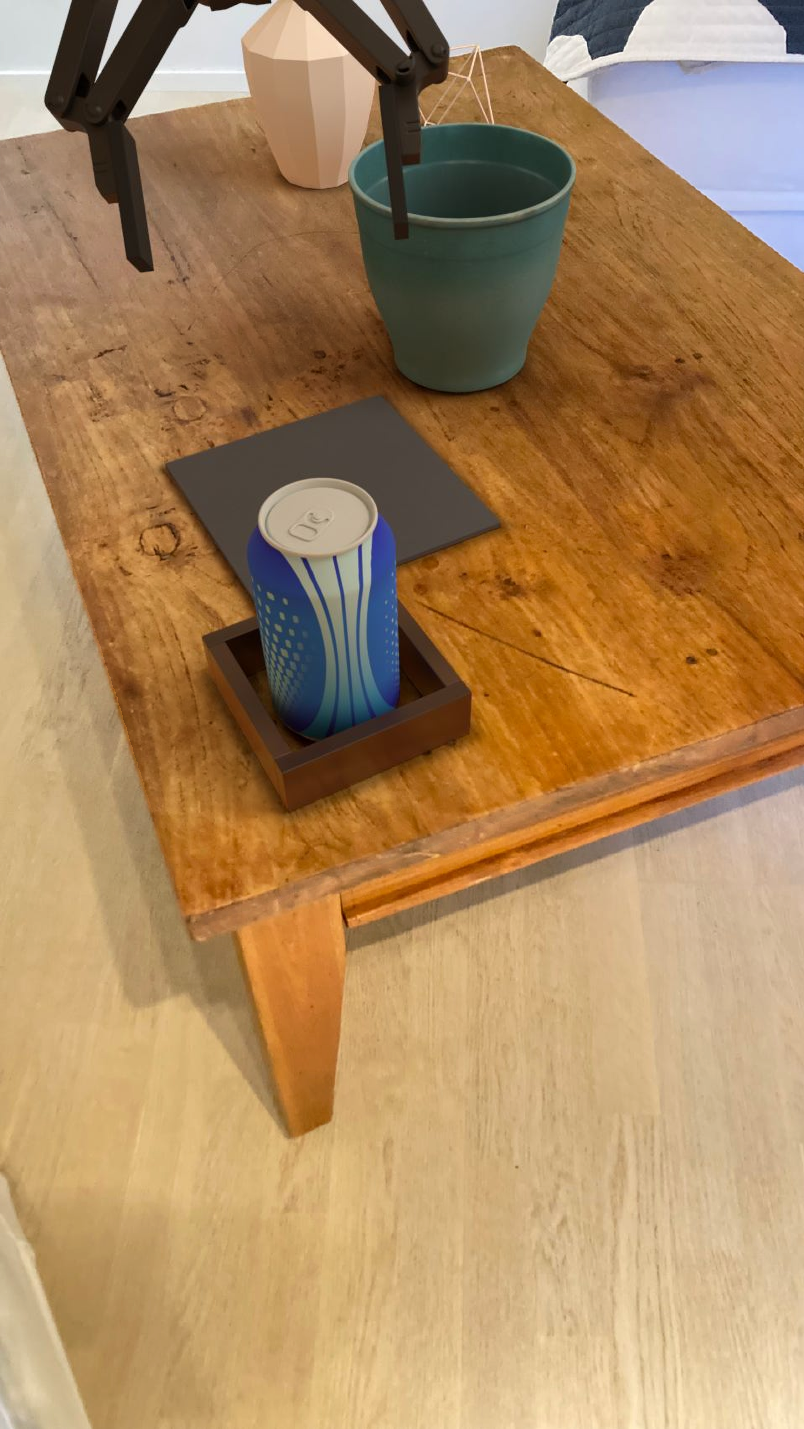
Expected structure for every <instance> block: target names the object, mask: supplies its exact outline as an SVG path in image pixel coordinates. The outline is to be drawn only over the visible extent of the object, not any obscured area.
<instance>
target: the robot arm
mask: <svg viewBox="0 0 804 1429" xmlns="http://www.w3.org/2000/svg"><path fill="white" fill-rule="evenodd" d="M119 1H120V0H71V2H70V5H69V8H68V12H67V17H66V19H65V22H64V26H63V30H62V33H61V37H60V40H59V44H58V47H57V51H56V55H55V58H54V61H53V65H52V67H51V72H50V76H49V79H48V82H47V86H46V89H45V93H44V96H43V103H44V106H45V108H46V109H47V111H48V112H49V113H50V114H51V115H52V117H53V118H54V119H55V120H56V122H58V123H59V124H58V125H60V127H62V128H63V129H64V130H65V131H66V132H68V133H76V132H80V133H83V134H86V135H87V138H88V145H89V152H90V158H91V164H92V171H93V178H94V184H95V187H96V189H97V191H98V193H99V195H100V196H101V197H102V198H103V199H104V201H105V202H106V203H107V204H109V205H113V204H118V211H119V218H120V226H121V232H122V238H123V245H124V252H125V259H126V261H128V262H129V263H130V265H132V266H133V267H134V268H135V269H136V270H137V271H138V273H140V274H143V273H150V272H155V267H154V260H153V252H152V246H151V240H150V232H149V225H148V219H147V212H146V211H147V210H146V204H145V198H144V190H143V182H142V178H141V177H142V176H141V170H140V163H139V157H138V151H137V150H138V149H137V143H136V142H137V141H136V140H135V138H134V137H133V135H132V133H131V132H130V130H129V129H128V128H127V126H126V125H125V124H126V122H127V120H128V118H129V117H130V115H131V113H132V112H133V111H134V108H135V106H136V105H137V103H138V101H139V99H140V98H141V96H142V94H143V93H144V91H145V89H146V87H147V85H148V84H149V82H150V80H151V79H152V77H153V75H154V74H155V72H156V70H157V68H158V67H159V64H160V63H161V61H162V59H163V58H164V56H165V54H166V52H167V51H168V49H169V48H170V45H172V42H173V41H174V39H175V38H176V35H177V34H178V32H179V30H181V29H183V28H184V27H186V26H187V25H188V23H189V21H190V19H191V17H193V14H194V12H195V11H196V10H197V8H198V5H202V6H204V7H208V8H209V9H210V11H211V12H218V11H219V12H220V11H226V10H228V9H231V8H233V7H235V6H237V5H240V4H244V5H245V4H246V5H251V6H262V5H272V0H141V1H140V2H139V4H138V6H137V8H136V9H135V11H134V13H133V15H132V16H131V18H130V20H129V22H128V23H127V26H126V27H125V29H124V31H123V33H122V34H121V36H120V37H119V39H118V41H117V43H116V44H115V46H114V48H113V50H112V52H111V53H110V55H109V57H108V59H107V60H106V62H105V64H104V65H103V67H102V69H101V71H100V73H99V69H100V66H101V62H102V60H103V56H104V52H105V49H106V46H107V41H108V39H109V36H110V31H111V28H112V24H113V21H114V18H115V14H116V11H117V9H118V8H117V7H118V4H119ZM293 1H294V2H295V3H296V4H297V5H298V6H299V7H300V8H301V9H303V10H304V11H308V12H309V13H310V14H311V15H312V16H313V17H314V18H315V19H316V20H317V21H318V22H319V23H320V24H321V25H322V26H323V27H324V28H325V29H326V30H327V31H328V32H329V33H330V34H331V35H332V36H333V37H334V38H335V39H336V40H337V41H338V42H339V43H340V44H341V45H342V46H343V47H344V48H345V49H346V50H347V51H348V52H349V53H350V54H351V55H352V56H353V57H354V58H355V59H356V60H357V61H358V62H359V63H360V64H361V65H362V66H363V67H364V68H365V69H366V70H367V71H368V72H369V73H370V74H371V75H372V76H373V77H374V78H375V81H377V82H378V83H379V84H380V85H377V90H378V101H379V111H380V121H381V129H382V130H381V131H382V138H383V139H384V148H385V157H386V166H387V175H388V184H389V193H390V202H391V211H392V220H393V229H394V238H395V240H402V239H409V223H408V214H407V204H406V195H405V186H404V177H403V168H402V166H407V165H415V164H420V161H421V157H422V153H423V141H422V132H421V127H422V123H421V114H420V112H419V108H420V105H419V104H420V103H419V97H420V95H421V93H422V92H423V91H424V90H425V89H426V88H428V87H430V86H432V85H441V84H443V83H444V82H446V80H447V79H448V76H449V75H448V72H450V71H449V69H450V55H451V53H450V52H451V50H450V48H451V47H450V44H449V42H448V40H447V38H446V37H445V35H444V34H443V31H442V30H441V29H440V27H439V25H438V23H437V22H436V20H435V18H434V17H433V15H432V13H431V12H430V10H429V8H428V7H427V5H426V3H425V1H424V0H379V2H380V4H381V5H382V7H383V8H384V10H385V12H386V13H387V15H388V17H389V18H390V20H391V22H392V23H393V25H394V27H395V29H396V30H397V32H398V33H399V35H400V37H401V38H402V40H403V42H404V43H405V45H406V46H407V48H408V50H409V52H410V53H409V54H407V53H406V52H405V51H404V50H403V49H402V48H401V47H400V46H399V45H398V44H397V43H396V42H395V41H394V40H393V39H392V38H391V37H390V36H389V35H388V34H387V33H386V32H385V31H384V30H383V28H381V27H380V26H379V24H377V23H376V22H375V21H374V19H372V18H371V17H370V16H369V15H368V14H367V13H366V12H365V11H364V10H363V8H361V7H360V6H359V5H358V4H357V3H356V2H355V0H293ZM408 55H409V56H408ZM98 73H99V75H98Z"/></svg>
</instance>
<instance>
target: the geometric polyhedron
mask: <svg viewBox="0 0 804 1429" xmlns="http://www.w3.org/2000/svg"><path fill="white" fill-rule="evenodd" d="M472 47H474V48H473V49H472V51H471V52H470V54H469V55H468V57H467V58H466V60H465V62H463V64H462V66H461V67H460V69H459V71H458V72H457V73H455V72H450V71H448V76H451V77H452V76H453V77H454V78H453V79H452V80H451V82H450V83H449V85H448V86H447V88H446V90H445V91H444V93H443V94H442V96H441V97H440V99H439V100H438V102H437V103H436V105H435V106H434V108H433V109H432V111H431V112H430V114H429V115H428V117H427V118H426V117H425V116H424V113H423V111H422V110H421V108H420V107H419V113H420V117H421V118H422V120H423V126H427V125H428V126H429V125H436V124H441V122H442V121H443V120H444V118H445V117H446V115H447V114H448V112H449V110H450V109H451V107H453V104H454V103H455V102H456V100H457V99H458V98H459V96H460V94H461V93H462V92H463V90H464V89H465V88H466V85H467V84H468V83H469V86H470V88H471V90H472V93H473V95H474V97H475V100H476V102H477V104H478V106H479V108H480V112H481V114H482V115H483V118H484V121H485V123H490V121H489V119H488V117H487V114H486V113H485V110H484V107H483V105H482V103H481V100H480V98H479V96H478V93H477V91H476V89H475V86H474V83H473V82H472V79H471V76H472V73H473V70H474V65H475V62H476V58H477V54H478V57H479V62H480V69H481V74H482V79H483V83H484V84H483V85H484V90H485V94H486V99H487V105H488V111H489V115H490V120H491V124H495V120H494V116H493V115H494V114H493V111H492V105H491V100H490V94H489V89H488V84H487V78H486V73H485V67H484V62H483V58H482V57H483V56H482V53H481V52H482V51H481V48H480V43H472V44H465V45H460V46H453V47H450V51H455V50H460V49H467V48H472ZM407 55H408V56H409V55H410V54H407ZM472 56H473V57H472ZM471 58H472V62H471V64H470V68H469V73H468V76H466V75H462V74H461V72H462V71H463V70H464V68H465V67H466V65H467V64H468V62H469V61H470V59H471ZM457 78H460V79H463V80H466V81H465V82H464V83H463V85H462V86H461V88H460V89H459V91H458V92H457V94H456V95H455V96H454V97H453V99H452V101H451V102H450V104H449V106H448V107H447V109H446V110H445V111H444V113H443V114H442V115H441V117H440V119H439V120H438V121H437V123H434V122H430V121H429V120H430V119H431V117H432V116H433V114H434V113H435V111H436V110H437V108H438V107H439V105H440V103H441V102H442V101H443V100H444V98H445V97H446V95H447V93H448V92H449V90H450V89H451V87H452V86H453V84H454V83H455V81H456V80H457Z"/></svg>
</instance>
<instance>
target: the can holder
mask: <svg viewBox="0 0 804 1429" xmlns="http://www.w3.org/2000/svg"><path fill="white" fill-rule="evenodd" d="M397 614H398V645H399V668H401V670H402V671H403V672H404V673H405V675H406V676H407V678H408V679H409V680H410V682H411V683H412V685H413V686H414V687H415V689H416V690H417V691H418V692H419V694H420V695H421V696H422V697H419V698H418V699H416V700H413V701H411V702H408V703H405V704H403V705H401V706H399V707H396V708H395V709H394V710H391V711H389V712H387V713H384V714H382V715H380V716H377V717H375V718H372V719H370V720H368V721H365V722H363V723H361V724H358V725H356V726H354V727H351V728H349V729H347V730H344V731H342V732H339V733H337V734H335V735H332V736H330V737H328V738H325V739H323V740H321V741H318V742H316V741H315V742H313V743H311V744H309V745H307V746H304V747H302V748H300V749H298V750H294V751H292V749H291V748H290V746H289V745H288V742H287V741H286V740H285V738H284V736H283V735H282V733H281V731H280V730H279V728H278V727H277V724H276V723H275V721H274V720H273V718H272V716H271V715H270V713H269V711H268V710H267V708H266V706H265V705H264V703H263V702H262V700H261V698H260V696H259V695H258V693H257V692H256V690H255V689H254V686H253V685H252V684H251V682H250V680H249V678H248V676H251V675H254V674H256V673H259V672H261V671H264V670H267V669H266V664H265V658H264V652H263V646H262V641H261V635H260V629H259V623H258V618H257V614H256V615H254V616H251V617H248V618H246V619H243V620H240V621H238V622H236V623H235V622H234V623H233V624H230V625H227V626H224V627H222V628H219V629H216V630H214V631H212V632H209V633H206V634H204V635H202V636H201V640H202V644H203V649H204V654H205V657H206V662H207V667H208V672H209V675H210V679H211V680H212V682H213V683H214V685H215V687H216V688H217V691H218V692H219V695H220V696H221V697H222V699H223V701H224V703H225V704H226V706H227V708H228V710H229V711H230V713H231V715H232V717H233V718H234V720H235V722H236V724H237V726H238V727H239V729H240V731H241V732H242V734H243V735H244V737H245V739H246V741H247V742H248V744H249V746H250V748H251V749H252V751H253V753H254V755H255V757H256V758H257V760H258V761H259V763H260V765H261V767H262V768H263V770H264V772H265V774H266V775H267V777H268V778H269V780H270V783H271V784H272V786H273V787H274V789H275V791H276V793H277V795H278V796H279V798H280V799H281V801H282V804H283V805H284V807H285V808H286V810H287V812H288V813H292V812H293V811H294V812H295V811H296V810H299V809H301V808H303V807H305V806H307V805H311V804H313V803H315V802H316V801H319V800H321V799H324V798H326V797H328V796H331V795H332V794H334V793H337V792H340V791H342V790H344V789H347V788H348V787H350V786H353V785H356V784H357V783H360V782H363V781H364V780H366V779H369V778H371V777H373V776H376V775H378V774H380V773H382V772H384V771H387V770H388V769H391V768H394V767H395V766H398V765H401V764H403V763H404V762H407V761H410V760H411V759H414V758H416V757H418V756H420V755H423V754H425V753H427V752H430V751H432V750H434V749H436V748H439V747H441V746H443V745H446V744H447V743H450V742H452V741H455V740H457V739H460V738H461V737H464V736H466V735H469V734H470V733H471V720H472V719H471V718H472V699H473V698H472V696H473V692H472V690H470V687H468V685H467V684H466V683H465V682H464V681H463V679H462V678H461V676H460V675H459V674H458V673H457V671H455V669H454V668H453V666H452V665H451V664H450V663H449V662H448V660H447V659H446V657H445V656H444V655H443V654H442V653H441V651H440V650H439V649H438V647H437V646H436V645H435V643H434V642H433V641H432V639H430V637H429V636H428V635H427V633H426V632H425V631H424V630H423V628H422V627H421V625H420V624H419V623H418V622H417V620H415V618H414V617H413V615H412V614H411V613H410V611H408V609H407V608H406V607H405V605H404V604H403V603H402V602H401V600H400V599H399V598H398V597H397Z"/></svg>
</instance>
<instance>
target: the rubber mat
mask: <svg viewBox="0 0 804 1429" xmlns="http://www.w3.org/2000/svg"><path fill="white" fill-rule="evenodd" d="M164 466H165V469H166V471H167V472H168V474H169V475H170V477H171V478H172V480H173V481H174V483H175V484H176V486H177V488H178V489H179V490H180V493H181V494H182V495H183V497H184V498H185V500H186V501H187V503H188V504H189V506H190V507H191V509H192V510H193V512H194V514H195V516H196V517H197V518H198V519H199V521H200V522H201V524H202V526H203V528H204V529H205V530H206V532H207V534H208V535H209V536H210V538H211V539H212V541H213V543H214V544H215V546H216V548H217V549H218V550H219V552H220V553H221V555H222V556H223V558H224V559H225V562H227V564H228V565H229V567H230V569H231V570H232V572H233V574H234V575H235V576H236V578H237V580H238V581H239V582H240V584H241V585H242V587H243V589H244V590H245V592H246V593H247V595H248V596H249V599H251V601H252V602H253V604H254V605H255V601H254V595H253V589H252V583H251V578H250V572H249V566H248V560H247V546H248V542H249V539H250V536H251V534H252V532H253V530H254V529H255V527H256V526H257V524H258V515H259V511H260V509H261V507H262V505H263V503H264V502H265V501H266V499H267V498H268V497H269V496H270V495H272V494H273V493H274V492H275V491H277V490H279V489H280V488H282V487H284V486H286V485H288V484H291V483H294V482H297V481H301V480H305V479H312V478H332V479H338V480H343V481H347V482H350V483H352V484H355V485H357V486H358V487H360V488H362V489H363V490H364V491H366V492H367V493H368V494H369V495H370V496H371V497H372V499H373V500H374V502H375V504H376V507H377V512H378V513H379V514H380V515H381V516H382V517H383V518H384V520H385V521H386V522H387V524H388V525H389V527H390V529H391V531H392V533H393V536H394V540H395V551H396V567H399V566H401V565H404V564H406V563H409V562H412V561H415V560H417V559H419V558H422V557H425V556H428V555H430V554H434V553H436V552H438V551H441V550H443V549H446V548H448V547H452V546H454V545H457V544H459V543H462V542H464V541H467V540H470V539H472V538H475V537H478V536H481V535H483V534H486V533H488V532H490V531H493V530H496V529H498V528H501V526H502V522H501V520H500V519H499V518H498V517H497V516H496V515H495V514H494V513H493V512H492V511H491V510H490V508H488V507H487V506H486V504H484V502H482V500H481V499H480V498H479V497H478V496H477V495H476V494H475V493H474V492H473V491H472V490H471V488H469V486H468V485H467V484H465V482H464V481H463V480H462V479H461V478H460V477H459V476H458V475H457V474H456V473H455V471H453V469H451V467H450V466H449V465H448V464H447V463H446V462H445V461H444V459H442V458H441V457H440V456H439V454H438V453H437V452H435V450H434V449H433V448H432V447H431V446H430V445H429V444H428V443H427V442H426V441H425V440H424V439H423V438H422V436H421V435H420V434H419V433H417V431H416V430H415V429H414V428H413V427H412V426H411V425H410V424H409V423H408V422H407V421H406V419H405V418H403V416H402V415H401V414H400V413H399V412H398V411H397V410H396V409H395V408H394V407H393V406H392V404H390V403H389V402H388V401H387V400H386V398H385V397H384V396H382V394H381V393H379V394H376V395H373V396H370V397H366V398H363V399H361V400H357V401H354V402H351V403H348V404H344V405H342V406H339V407H335V408H332V409H330V410H327V411H323V412H320V413H317V414H314V415H311V416H307V417H305V418H302V419H299V420H295V421H292V422H289V423H287V424H283V425H280V426H277V427H273V428H271V429H267V430H264V431H261V432H258V433H255V434H251V435H249V436H245V437H243V438H240V439H237V440H233V441H230V442H227V443H224V444H221V445H218V446H215V447H211V448H208V449H206V450H202V451H199V452H196V453H193V454H189V455H187V456H184V457H181V458H178V459H177V458H176V459H174V460H171V461H168V462H165V463H164Z"/></svg>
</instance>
